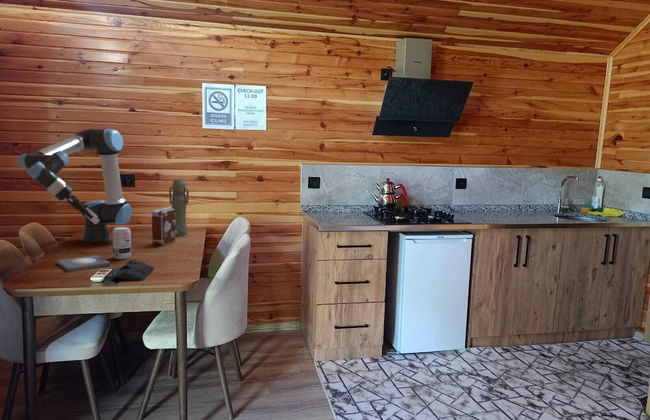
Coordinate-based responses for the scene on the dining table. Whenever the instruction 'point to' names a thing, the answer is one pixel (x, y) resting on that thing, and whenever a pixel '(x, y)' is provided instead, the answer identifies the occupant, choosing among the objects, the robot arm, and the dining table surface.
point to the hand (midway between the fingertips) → (96, 220)
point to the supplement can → (121, 243)
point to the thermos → (179, 205)
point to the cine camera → (163, 226)
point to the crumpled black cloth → (134, 271)
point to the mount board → (83, 263)
